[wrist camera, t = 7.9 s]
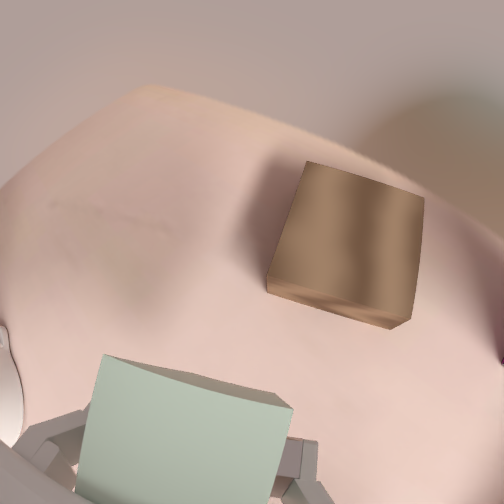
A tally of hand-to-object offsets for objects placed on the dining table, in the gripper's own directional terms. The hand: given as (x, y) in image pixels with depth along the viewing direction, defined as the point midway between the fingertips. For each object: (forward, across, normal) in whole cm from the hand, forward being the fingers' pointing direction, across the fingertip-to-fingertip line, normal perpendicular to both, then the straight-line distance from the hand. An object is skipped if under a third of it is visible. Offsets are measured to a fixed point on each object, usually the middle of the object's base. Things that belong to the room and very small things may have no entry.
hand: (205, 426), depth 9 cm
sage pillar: (+4, 0, +5) cm, 6 cm away
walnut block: (+22, -7, +1) cm, 23 cm away
